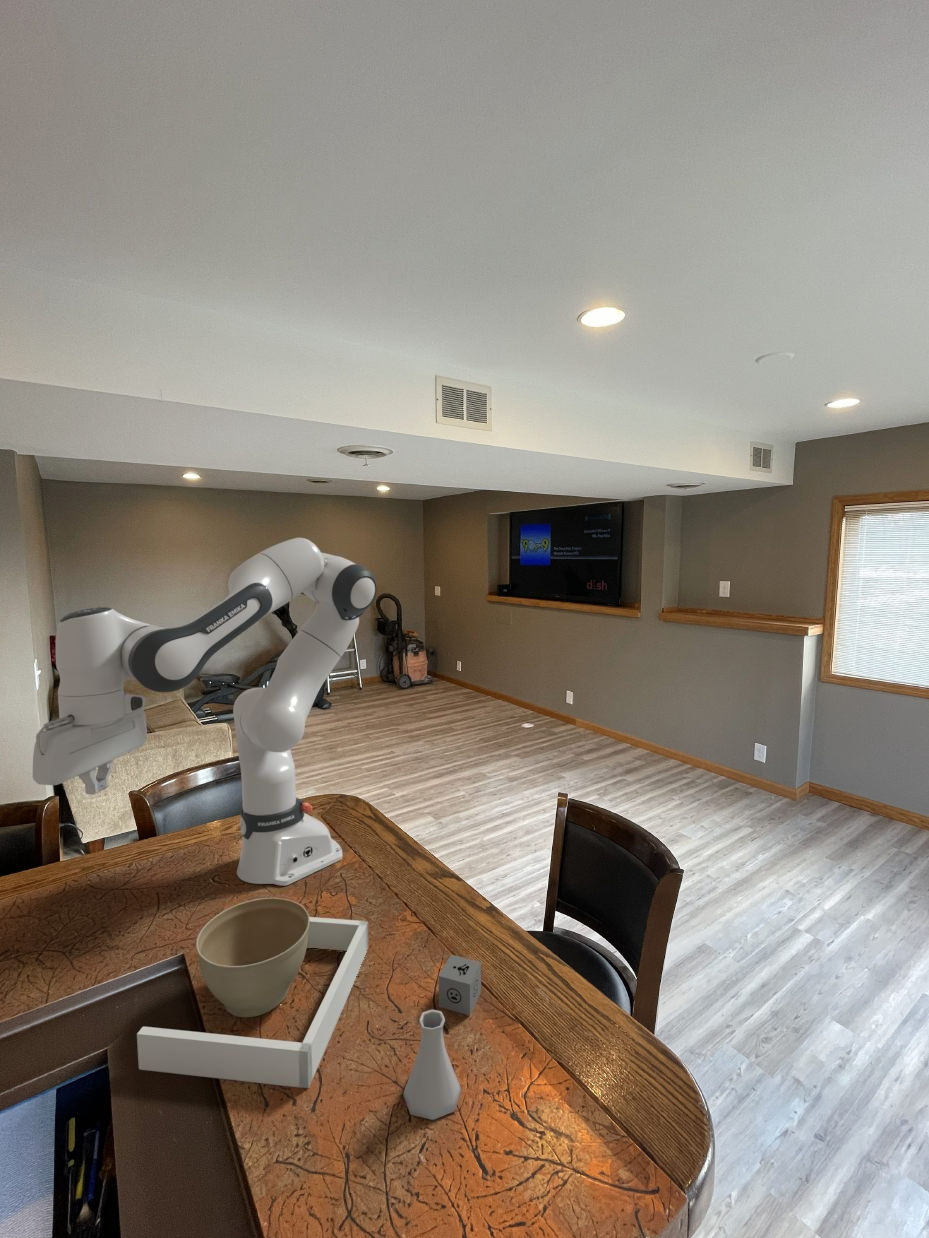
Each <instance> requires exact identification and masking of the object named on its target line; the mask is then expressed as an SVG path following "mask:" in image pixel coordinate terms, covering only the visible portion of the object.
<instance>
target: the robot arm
mask: <svg viewBox="0 0 929 1238" xmlns="http://www.w3.org/2000/svg"><path fill="white" fill-rule="evenodd" d="M227 583H228V584H227V588H228V595H227V596H226V597H224V599H223V600H222V601H220V602H219V603H217V604H216V605H214V606H213V607H211V608H209V609H208V610H206V611H205V612H204V613H202V614H200V615H199V616H198V617H196V618H195V619H193V620H192V621H190V622H188V623H186V624H183V625H180V626H176V627H168V628H166V627H162V626H159V625H155V624H151V623H147V622H143V621H140V620H137V619H134V618H131V617H130V616H129V617H128V616H126V615H124V614H122V613H119V612H118V611H116V610H115V609H114V608H112V607H105V606H102V607H101V606H100V607H94V608H93V607H92V608H85V609H81V610H77V611H73V612H70V613H68V614H66V615H64V616H63V617H62V618H61V619H60V620H59V622H58V624H57V628H56V633H55V634H56V635H55V666H56V670H57V672H58V674H59V684H58V685H59V686H58V690H57V698H58V701H57V703H58V715H59V717H58V719H56V720H50V721H48V722H45V723H44V724H43V726H42V728H41V729H39V731H38V732H37V733H36V735H35V742H34V746H33V755H32V779H33V781H34V782H35V783H36V784H38V785H41V786H57V785H60V784H62V783H65V782H67V781H69V780H71V779H74V778H76V777H78V778H79V779H80V780H81V782H82V783H83V784H84V789H85V794H86V795H96V794H98V793H99V792H102V791H103V790H106V789H108V788H109V786H110V785H109V778H110V775H111V773H112V770H113V767H114V760H115V759H117V758H119V757H122V756H124V755H126V754H129V753H131V752H133V751H135V750H138V749H140V748H142V747H144V746H145V743H146V741H147V736H148V732H147V731H148V727H147V724H148V723H147V715H146V712H145V710H144V708H145V706H146V703H147V702H146V700H147V699H146V697H145V696H144V695H140V694H132V693H131V694H130V693H126V692H125V691H124V684H125V682H126V681H133V680H135V681H137V682H138V683H139V684H141V685H142V687H145V688H146V689H147V690H150V691H153V692H158V693H171V692H176V691H179V690H181V689H183V688H186V687H187V686H188V685H190V684H191V683H193V681H194V680H195V679H196V678H197V677H198V676H199V674H200V673H201V671H202V670H203V669H204V667H205V666H206V664H207V662H209V660H210V659H211V658H212V657H213V656H214V655H215V654H216V653H217V652H218V651H220V650H221V649H222V648H224V647H225V646H227V645H228V644H229V643H230V642H232V641H233V640H235V639H236V638H237V637H239V636H240V635H241V634H242V633H244V632H245V631H247V630H248V629H249V628H251V627H252V626H253V625H255V624H256V623H257V622H258V621H260V620H262V619H263V618H265V617H267V615H269V614H271V613H273V612H274V611H276V610H278V609H279V608H282V607H283V606H284V605H286V604H288V603H289V602H291V601H292V600H293V599H295V598H296V597H298V596H299V595H303V596H306V597H308V598H310V599H311V600H313V601H314V602H316V603H315V608H314V611H313V613H312V614H311V616H309V618H307V620H306V622H304V623H303V625H302V626H301V627H300V629H299V630H298V631H297V633H296V634H295V636H294V637H293V638H292V640H291V641H290V642H289V644H288V645H287V646H286V648H285V649H284V651H283V652H282V653H281V654H280V656H279V657H278V659H277V662H276V667H275V669H274V671H273V673H272V676H271V678H270V679H269V682H268V684H267V686H265V687H253V688H250V689H245V690H244V691H243V692H241V693H240V694H239V695H238V697H237V698H236V700H234V703H233V707H232V708H233V709H232V710H233V711H232V714H233V720H234V722H233V723H234V731H235V732H234V733H235V739H236V748H237V753H238V754H237V755H238V760H239V767H240V774H241V796H242V797H241V799H242V800H241V801H242V805H241V808H240V816H239V821H240V822H239V823H240V824H239V825H240V832H241V836H242V839H241V850H240V855H239V861H238V865H237V868H236V875H237V877H238V879H240V880H241V881H243V882H246V883H249V884H254V885H265V884H267V885H268V884H269V885H270V884H271V885H272V884H273V885H277V886H281V887H282V886H284V887H285V886H288V885H291V884H294V883H295V882H296V881H299V880H302V879H304V878H305V877H307V876H310V875H311V874H314V873H315V872H317V871H320V870H322V869H325V868H327V867H328V866H330V865H333V864H335V863H337V862H339V861H341V860H342V859H343V849H342V847H341V846H340V844H339V843H338V842H337V841H336V840H335V839H333V838H332V837H331V833H330V830H329V828H328V827H327V825H325V824H324V823H323V822H322V821H321V820H319V819H317V818H316V817H314V816H311V815H310V814H311V813H312V811H313V806H312V805H311V803H309V802H305V801H304V800H303V799H301V798H299V797H297V791H296V788H297V786H296V785H297V784H296V783H297V782H296V765H295V762H294V759H293V755H292V749H293V748H295V747H296V746H297V745H298V744H299V743H300V741H301V740H302V738H303V736H304V733H305V728H306V721H307V719H308V716H309V714H310V711H311V709H312V707H313V705H314V702H315V700H316V699H317V695H318V694H319V691H320V689H321V688H322V686H323V684H324V683H325V682H326V680H327V679H328V677H329V675H330V674H331V673H332V671H333V670H334V669H335V666H337V664H338V663H339V661H340V660H341V658H342V657H343V655H344V653H345V652H346V651H347V649H348V647H349V646H350V644H351V642H352V640H353V639H354V637H355V634H356V632H357V630H358V627H359V624H360V617H361V616H362V615H363V614H364V613H365V612H366V611H367V610H368V609H369V608H370V606H371V605H372V604H373V602H374V601H375V597H376V594H377V587H378V585H377V579H376V577H375V575H374V574H373V573H372V572H371V571H370V570H369V569H367V568H366V567H364V566H363V565H362V564H358V563H355V562H353V561H352V560H349V559H347V558H345V557H342V556H339V555H334V554H331V553H325V552H324V551H322V550H320V549H319V547H318V546H317V545H316V544H315V543H314V542H312V541H311V540H309V539H308V538H304V537H294V538H291V539H288V540H285V541H284V540H283V542H279V543H276V544H275V545H272V546H270V547H267V548H266V549H263V550H262V551H260V552H258V553H256V554H255V555H253V556H251V557H250V558H248V559H246V560H245V561H243V562H242V563H241V564H240V565H238V567H236V568H235V569H234V570H233V571H232V572H231V573H230V575H229V578H228V582H227Z"/></svg>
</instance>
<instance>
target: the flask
mask: <svg viewBox="0 0 929 1238" xmlns="http://www.w3.org/2000/svg"><path fill="white" fill-rule="evenodd" d="M445 1021H446V1019H445V1016H444V1013H443V1012H442V1011H441V1010H436V1009H429V1010H426V1011H423V1012H421V1014H420V1017H419V1019H418V1024H419V1026H420V1033H421V1034H420V1035H421V1036H420V1041H419V1042H420V1043H419V1047H418V1051H417V1054H416V1057H415V1060H414V1063H413V1066H412V1069H411V1072H410V1074H409V1076H408V1080H407V1082H406V1084H405V1088H404V1091H403V1097H404V1100H405V1101H404V1102H405V1103H406V1107H407V1109H408V1111H409V1112H408V1113H409V1115H411V1116H413V1117H414V1116H415V1117H420V1118H424V1119H426V1120H427V1119H428V1120H432V1121H434V1120H436V1119H439V1118H441V1117H444V1116H446V1115H448V1114H451V1113H454V1112H457V1105H458V1103H459V1100H460V1095H461V1092H462V1088H461V1086H460V1083H459V1080H458V1078H457V1075H456V1072H455V1070H454V1068H453V1065H452V1063H451V1060H450V1057H449V1054H448V1052H447V1049H446V1044H445V1039H444V1035H443V1034H444V1032H443V1031H444V1030H443V1029H444V1025H445Z"/></svg>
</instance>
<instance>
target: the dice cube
mask: <svg viewBox="0 0 929 1238" xmlns="http://www.w3.org/2000/svg"><path fill="white" fill-rule="evenodd" d="M481 993H482V961H479V960H474V959H470V958H466V957H462V956H459V955H454V954H450V955H449V957H448V959H447V960H446V963H445V964H444V966H443V968H442V969H441V971H440V973H439V975H438V1007H439V1008H441V1009H445V1010H449V1011H452V1012H455V1013H459V1014H463V1015H466V1016H471V1015H472V1012H473V1010H474V1009H475V1006H476V1004H477V1001H478V999H479V998H480V995H481Z"/></svg>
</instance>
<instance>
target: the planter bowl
mask: <svg viewBox="0 0 929 1238" xmlns="http://www.w3.org/2000/svg"><path fill="white" fill-rule="evenodd" d="M309 917H310V915H309V912H308V911H307V909H306V908H305V907H304V906H303V905H302V904H301V903H298V902H296V901H295V900H291V899H287V898H280V897H262V898H255V899H250V900H248V901H247V900H246V901H244V902H240V903H237V904H234V905H233V906H231V907H228V908H226V909H224V910H223V911H221V912H219V913H217V914H216V915H215V916H214V917H212V918H211V919H210V920H209V921H207V923H205V925H204V926H203V927H202V928H201V930H199V933H198V935H197V938H196V941H195V948H196V949H195V950H196V954H197V957H198V962H199V968H200V972H201V976H202V978H203V980H204V983H205V984H206V987H207V988H208V989H209V991H210V992H211V993H212V995H213V996H214V997H215V998H216V999H217V1000H218V1001H219V1002H221V1003H222V1004H223V1007H224V1009H225V1011H227V1012H228V1013H230V1014H231V1015H232V1016H235V1017H239V1018H255V1017H258V1016H263V1015H265V1014H266V1013H269V1012H271V1010H274V1009H275V1008H276V1007H278V1006H279V1005H280V1004H281V1003H282V1002H283V1001H284V1000H285V999H286V997H287V995H288V994H289V989H290V986H291V985H292V984H293V982H294V980H295V979H296V977H297V976H298V974H299V972H300V970H301V967H302V964H303V962H304V959H305V956H306V954H307V953H306V952H307V941H308V931H309V924H310V920H309Z"/></svg>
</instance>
